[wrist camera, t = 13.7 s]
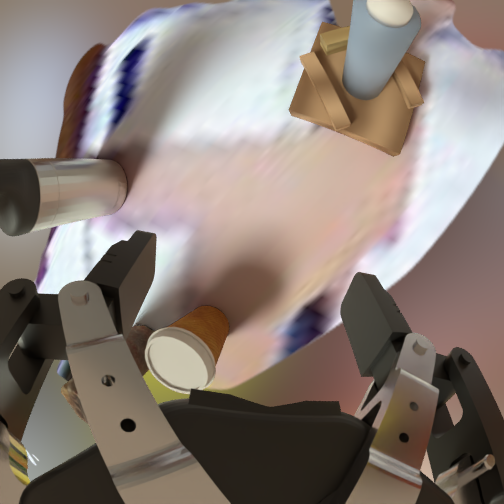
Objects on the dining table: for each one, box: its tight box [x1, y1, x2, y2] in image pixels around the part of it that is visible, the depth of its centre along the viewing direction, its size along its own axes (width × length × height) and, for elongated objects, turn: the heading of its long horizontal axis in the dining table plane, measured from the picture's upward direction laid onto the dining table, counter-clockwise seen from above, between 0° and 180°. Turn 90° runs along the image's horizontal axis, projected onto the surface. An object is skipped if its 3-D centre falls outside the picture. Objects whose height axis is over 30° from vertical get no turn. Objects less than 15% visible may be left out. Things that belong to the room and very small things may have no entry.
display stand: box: [289, 22, 425, 157], centre depth 27 cm, size 15×15×6 cm
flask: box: [342, 0, 421, 100], centre depth 19 cm, size 5×5×17 cm
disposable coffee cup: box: [145, 306, 229, 394], centre depth 37 cm, size 10×10×12 cm
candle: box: [61, 325, 154, 423], centre depth 38 cm, size 8×7×20 cm
